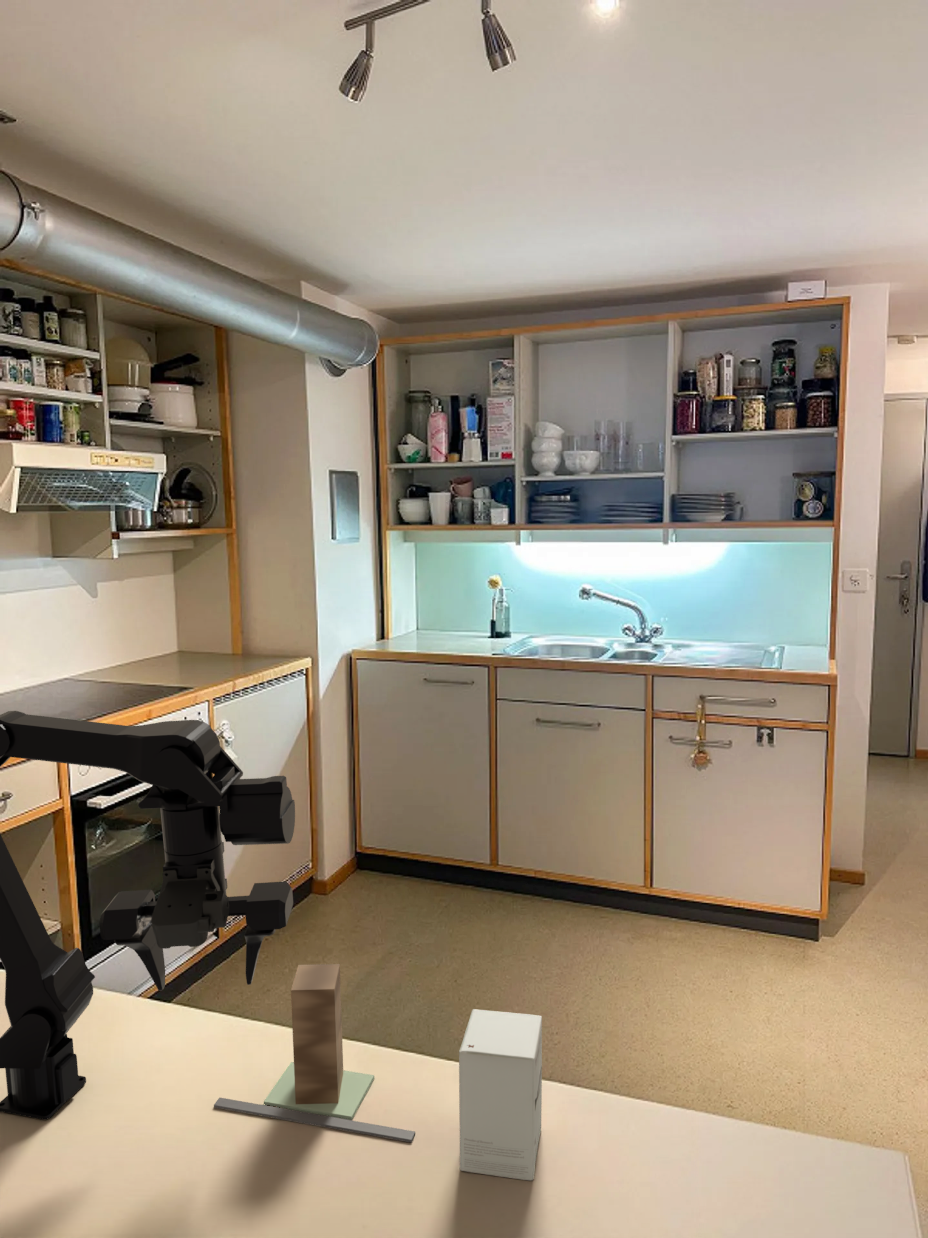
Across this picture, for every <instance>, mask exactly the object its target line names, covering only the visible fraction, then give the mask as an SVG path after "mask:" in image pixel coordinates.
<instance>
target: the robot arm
mask: <svg viewBox="0 0 928 1238" xmlns="http://www.w3.org/2000/svg"><path fill="white" fill-rule="evenodd" d="M11 758H17V759H25V760H34V761H42V762H52V763H58V764H59V763H60V764H61V763H62V764H68V765H76V766H86V767H96V768H104V769H112V770H117V771H120V772H123V773H125V774H128V775H130V776H131V777H132V778H135V779H136V780H138V781H139V782H142V783H143V784H147V785H152V786H151V788H150V789H149V791H148V793H147V794H146V795H145V797H144V798H142V799H141V800H140V801H139V802H138V804H137V806H138V808H139V809H140V810H147V809H148V810H149V809H150V810H152V809H160V817H161V818H160V820H161V829H162V840H163V849H164V850H163V852H164V860H165V861H164V864H163V866H162V882H161V883H162V884H161V887H160V891H159V895H158V898H157V900H156V897H155V896H156V895H155V892H154V891H153V890H152V889H137V890H123V891H121V890H120V891H118V893H117V894H116V895H115V896H114V897H113V898H112V900H111V901H110V903H109V904H108V905H107V906H106V907H105V909H104V910H103V911H102V913H101V914H100V917H99V923H98V924H99V932H100V939H102V940H103V941H112V940H113V941H114V943H115V944H116V945H117V946H125V947H127V948H129V949H131V950H133V951H134V952H135V953H136V954H137V957H139V959H140V960H141V961H142V963H143V966H145V968H146V971H147V972H148V974H149V976H150V978H151V979H152V981H153V982H154V983H153V984H154V985H155V987H156V989H157V990H158V991H163V990H164V989H165V987H166V966H165V965H166V964H165V955H164V954H165V953H164V949H167V950H168V949H170V948H172V947H186V946H187V947H190V948H193V947H194V948H195V947H199V946H202V945H203V944H205V942H206V941H207V940H208V935H209V933H214V931H215V930H216V929H220V928H221V929H222V928H225V927H226V926H227V923H228V917H239V916H245V924H246V925H247V928H246V930H245V933H244V939H245V944H246V945H245V946H246V948H245V980H246V985H247V986H248V985H249V986H250V985H252V983H253V980H254V975H255V970H256V968H257V965H258V964H257V962H258V959H259V956H260V955H259V954H260V953H261V948H262V943H263V942H264V938H265V937H270V936H272V935H274V934H275V933H276V930H281V929H284V928H285V927H287V925H288V923H289V921H288V920H289V919H290V916H291V911H292V909H293V906H294V895H293V894H294V893H293V888H292V886H291V885H290V884H289V883H288V882H287V881H286V880H285V881H271V882H270V881H269V882H254V884H253V886H252V887H251V890H250V892H249V895H236V896H227V889H228V878H226V876H225V863H224V853H225V846H224V845H225V843H224V841H225V842H226V843H231V844H232V845H233V846H253V845H254V846H255V845H257V846H258V845H286V844H287V845H288V844H290V843H291V842H292V840H293V837H294V833H295V826H296V825H295V823H296V805H295V804H296V803H295V799H293V797H292V792H291V789H290V788H289V787H288V782H287V777H286V776H285V775H272V776H269V777H262V778H259V777H257V778H242V777H243V775H244V772H243V770H242V769H241V768H240V767H239V766H238V765H237V764H236V762H235V761H234V760H233V759H232V758H231V756H230V755H228V753H227V752H226V751H225V750H224V749H223V747H222V746H221V741H220V740H219V736H218V735H217V733H216V732H215V731H214V729H212V727H211V725H210V724H209V723H207V722H204V721H201V720H197V719H182V720H168V721H166V720H165V721H160V722H155V723H154V722H153V723H147V724H142V725H140V724H139V725H123V724H114V723H105V722H98V721H97V722H96V721H87V720H80V719H79V720H77V719H72V718H61V717H53V716H43V715H35V714H27V713H25V712H22V711H18V710H8V711H6V712H4V713H1V714H0V767H2V766H4V765H5V764H6V763H7V761H9V759H11ZM208 772H210V773H211V774H213V776H212V777H211V778H210V777H209V776H207V773H208ZM222 836H223V838H224V841H223V839H222ZM0 961H1V963H2V966H3V967H4V971H5V980H4V981H5V986H4V987H5V988H4V1006H5V1010H6V1014H7V1016H8V1020H9V1024H10V1027H8V1029H7V1030H6V1031H5V1032H4V1033H3V1034H2V1035H1V1036H0V1069H4V1070H5V1079H6V1089H7V1095H6V1096H5V1097H4V1098H2V1100H0V1112H1V1113H6V1114H7V1113H8V1114H12V1115H18V1116H23V1117H27V1118H28V1117H29V1118H33V1119H38V1120H42V1121H43V1120H45V1121H46V1120H48V1119H50V1118H52V1116H53V1115H54V1114H55V1113H57V1111H58V1110H60V1108H62V1107H63V1106H64V1105H65V1104H66V1103H67V1102H68V1101H69V1100H70V1099H71V1098H72V1097H73V1096H74V1095H75V1094H76V1093H77V1092H78V1091H79V1090H80V1089H81V1088H82V1087H83V1086H85V1084H86V1083H87V1077H86V1076H83V1075H79V1069H78V1055H77V1054H76V1053H74V1039H73V1037H68V1032H69V1031H70V1030H71V1028H72V1027H73V1026H74V1025H75V1023H77V1021H78V1019H79V1018H80V1016H82V1015H83V1013H84V1012H85V1010H86V1009H87V1008H88V1006H89V1005H90V1003H91V1001H92V998H93V995H94V986H93V984H92V982H93V981H94V979H95V978H96V975H94V973H92V972H91V971H90V969H89V968H88V966H87V963H86V962H85V958H84V955H83V951H82V950H81V949H80V948H79V947H75V948H73V949H72V950H70V951H65V950H64V949H62V948H61V947H60V946H58V945H56V944H54V942H53V941H52V939H51V938H50V936H49V933H48V931H47V928H46V926H45V924H44V922H43V920H42V918H41V916H40V915H39V912H38V910H37V908H36V906H35V904H34V901H33V900H32V898H31V895H30V894H29V891H28V889H27V887H26V885H25V883H24V881H23V879H22V876H21V875H20V873H19V870H18V868H17V866H16V863H15V862H14V860H13V858H12V855H11V853H10V852H9V849H8V847H7V844H6V843H5V841H4V839H3V837H2V834H1V833H0Z"/></svg>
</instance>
